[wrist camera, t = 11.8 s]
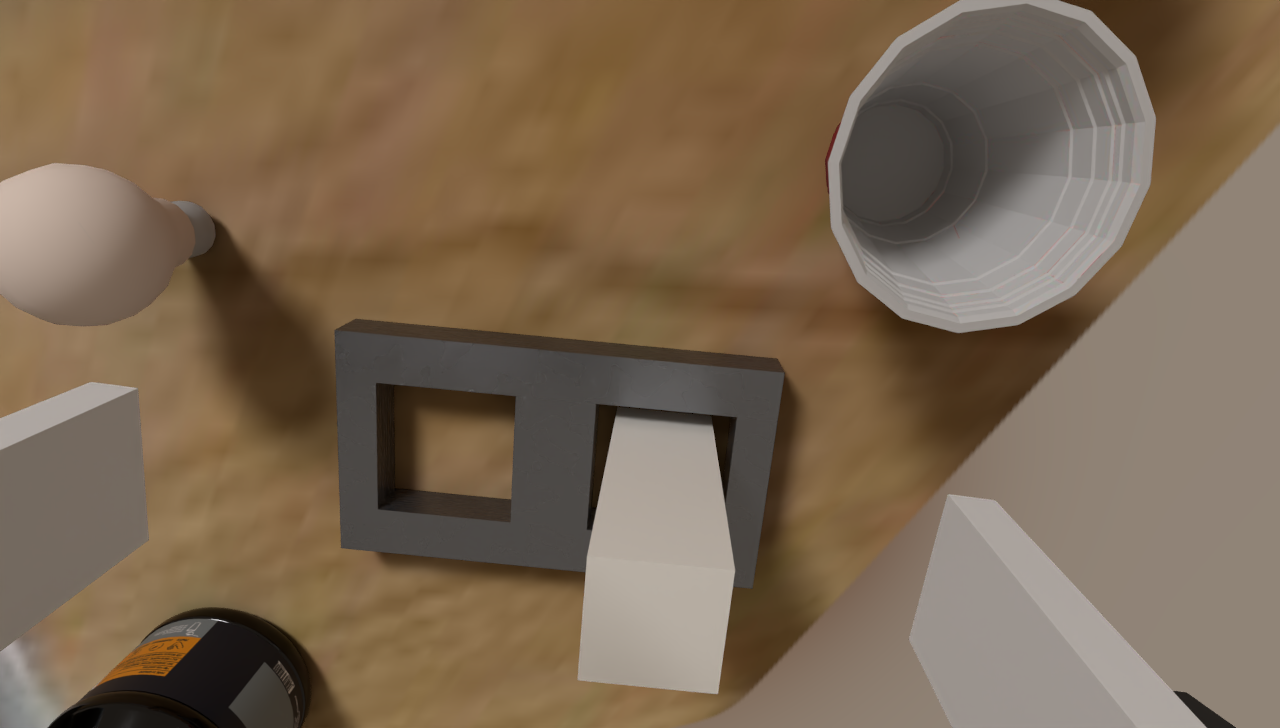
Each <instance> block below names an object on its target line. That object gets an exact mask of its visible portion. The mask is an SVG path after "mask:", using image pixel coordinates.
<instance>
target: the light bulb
mask: <svg viewBox="0 0 1280 728" xmlns="http://www.w3.org/2000/svg"><path fill="white" fill-rule="evenodd" d="M215 236H216V235H215V225H214V223H213V221H212V219H211V217H210V215H209V214H208V213H207V212H206V211H205V210H204V209H203V208H202V207H201V206H199V205H196V204H194V203H192V202H188V201H174V202H169V201H167V200H165V199H159V198H152V197H151V196H149V195H148V194H147V193H146V192H145V191H143V190H142V189H141V188H140V187H139V186H137V185H136V184H135V183H133V182H131V181H129V180H127V179H125V178H123V177H120V176H118V175H116V174H114V173H112V172H110V171H108V170H105V169H100V168H95V167H90V166H86V165H73V164H60V163H53V164H49V165H46V166H42V167H39V168H36V169H32V170H29V171H27V172H24V173H22V174H19V175H17V176H14V177H11V178H9V179H6V180H4V181H2V182H1V183H0V294H1V295H2V296H3V297H5V298H6V299H7V300H8V301H9V302H10V303H11V304H13V305H14V306H15V307H16V308H18V309H21V310H23V311H25V312H27V313H29V314H31V315H33V316H35V317H37V318H40V319H42V320H45V321H48V322H51V323H54V324H59V325H72V326H98V325H108V324H111V323H114V322H117V321H120V320H123V319H126V318H128V317H131V316H134V315H136V314H137V313H138V312H140V311H141V310H143V309H144V308H146V307H147V306H149V305H150V304H151V303H152V302H153V301H154V300H155V299H156V298H157V297H158V296H159V295H160V294H161V293H162V292H163V291H164V290H165V288H166V287H167V286H168V284H169V281H170V278H171V276H172V273H173V270H174V269H175V267H177V266H179V265H181V264H183V263H184V262H185V261H186V260H187V259H188V258H191V257H195V256H198V255H201V254H204V253H206V252H207V251H208V250H209V249H210V248H211V247H212V246H213V242H214V239H215Z"/></svg>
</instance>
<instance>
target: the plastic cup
mask: <svg viewBox="0 0 1280 728" xmlns="http://www.w3.org/2000/svg"><path fill="white" fill-rule="evenodd" d="M1155 124H1156V116H1155V113H1154V110H1153V107H1152V104H1151V101H1150V98H1149V95H1148V92H1147V89H1146V86H1145V83H1144V80H1143V77H1142V73H1141V70H1140V67H1139V64H1138V61H1137V58H1136V56H1135V55H1134V54H1133V53H1132V52H1131V51H1130V50H1129V49H1128V48H1127V47H1126V46H1125V45H1124V44H1123V43H1122V42H1121V41H1120V40H1119V39H1118V38H1117V37H1116V36H1115V35H1114V34H1113V32H1112V31H1111V30H1110V29H1109V28H1108V27H1107V26H1106V25H1105V24H1104V23H1103V22H1102V21H1101V20H1100V19H1099V18H1098V17H1097V16H1096V15H1095V14H1094V13H1093V12H1092V11H1090V10H1087V9H1084V8H1081V7H1078V6H1075V5H1071V4H1068V3H1065V2H1062V1H1059V0H960V1H958V2H956V3H955V4H953V5H951V6H950V7H948V8H946V9H945V10H943V11H941V12H940V13H938V14H936V15H934V16H933V17H931V18H929V19H928V20H926V21H924V22H923V23H921V24H919V25H918V26H916V27H914V28H913V29H911V30H909V31H908V32H906V33H904V34H902V35H901V36H899V37H897V38H896V39H895V41H894V42H893V43H892V44H891V46H890V47H889V48H888V49H887V51H886V52H885V53H884V54H883V56H882V57H881V58H880V59H879V61H878V62H877V63H876V64H875V66H874V67H873V68H872V69H871V71H870V72H869V73H868V74H867V76H866V77H865V78H864V79H863V81H862V82H861V83H860V84H859V86H858V87H857V88H856V89H855V91H854V92H853V93H852V94H851V96H850V97H849V100H848V103H847V106H846V109H845V112H844V115H843V118H842V121H841V123H840V124H839V125H838V126H837V128H836V131H835V133H834V134H833V137H832V141H831V144H830V147H829V150H828V153H827V156H826V159H825V165H826V182H827V187H828V193H829V197H830V217H831V229H832V231H833V233H834V235H835V237H836V239H837V241H838V243H839V245H840V247H841V249H842V251H843V253H844V255H845V257H846V259H847V262H848V264H849V266H850V268H851V270H852V272H853V274H854V276H855V278H856V280H857V282H858V283H859V284H860V285H862V286H863V287H864V288H865V289H867V290H868V291H869V292H870V293H871V294H873V295H874V296H875V297H876V298H878V299H879V300H880V301H881V302H883V303H884V304H885V305H886V306H887V307H889V308H890V309H891V310H892V311H894V312H895V313H896V314H897V315H899V316H900V317H901V318H902V319H906V320H910V321H914V322H918V323H921V324H925V325H929V326H933V327H937V328H940V329H944V330H948V331H952V332H956V333H963V332H970V331H977V330H985V329H992V328H1000V327H1007V326H1014V325H1019V324H1021V323H1023V322H1025V321H1027V320H1029V319H1031V318H1032V317H1034V316H1036V315H1038V314H1040V313H1042V312H1044V311H1046V310H1048V309H1050V308H1051V307H1053V306H1055V305H1057V304H1059V303H1061V302H1063V301H1065V300H1067V299H1069V298H1070V297H1072V296H1074V295H1076V294H1077V293H1078V292H1079V291H1080V289H1081V288H1082V287H1083V286H1084V285H1085V284H1086V283H1087V282H1088V281H1089V280H1090V279H1091V278H1092V277H1093V276H1094V275H1095V274H1096V273H1097V272H1098V271H1099V270H1100V268H1101V267H1102V266H1103V265H1104V264H1105V263H1106V262H1107V261H1108V260H1109V259H1110V258H1111V257H1112V256H1113V255H1114V254H1115V253H1116V252H1117V251H1118V250H1119V248H1120V247H1121V246H1122V244H1123V242H1124V240H1125V238H1126V236H1127V234H1128V231H1129V229H1130V227H1131V225H1132V223H1133V221H1134V219H1135V216H1136V214H1137V212H1138V210H1139V208H1140V206H1141V204H1142V201H1143V199H1144V197H1145V195H1146V193H1147V191H1148V189H1149V186H1150V183H1151V171H1152V159H1153V148H1154V136H1155Z"/></svg>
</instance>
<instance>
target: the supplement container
mask: <svg viewBox="0 0 1280 728" xmlns="http://www.w3.org/2000/svg"><path fill="white" fill-rule="evenodd" d="M310 703H311V682H310V677H309V673H308V670H307V667H306V665H305V662H304V660H303V658H302V656H301V655H300V653H299V652H298V650H297V649H296V647H295V646H294V645H293V644H292V642H291V641H290V640H289V639H288V638H287V637H286V636H285V635H284V634H282V633H281V632H280V631H279V630H278V629H276V628H275V627H274V626H272V625H271V624H269V623H267V622H266V621H264V620H262V619H260V618H258V617H256V616H253V615H251V614H248V613H245V612H242V611H239V610H234V609H228V608H216V607H209V608H199V609H193V610H190V611H186V612H183V613H180V614H178V615H175V616H173V617H171V618H169V619H168V620H166V621H164V622H163V623H161V624H160V625H158V626H157V627H156V628H155V629H154V630H153V631H151V632H150V633H149V634H148V635H147V636H146V637H145V638H144V640H143V641H142V642H141V643H140V645H139V646H137V647H136V648H135V649H134V650H133V651H132V652H131V653H130V654H129V655H128V656H127V657H126V658H125V659H123V660H122V661H121V662H120V663H119V664H118V665H117V666H116V667H115V668H114V669H113V670H112V671H111V672H110V673H108V674H107V675H106V676H105V677H104V678H103V679H102V680H101V681H100V682H99V683H98V684H97V685H96V686H95V687H93V688H92V689H91V690H90V691H89V692H88V693H87V694H86V695H85V696H84V697H83V698H82V699H81V700H80V701H78V702H77V703H76V704H74V705H72V706H71V707H69V708H68V709H67V710H65V711H64V712H63V713H62V714H61V715H59V716H58V717H57V718H56V719H55V720H54V721H53V722H52V723H51V724H50V725H49V727H48V728H302V726H303V724H304V722H305V720H306V717H307V715H308V712H309V708H310Z"/></svg>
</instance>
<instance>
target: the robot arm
mask: <svg viewBox="0 0 1280 728" xmlns="http://www.w3.org/2000/svg"><path fill="white" fill-rule="evenodd" d="M148 540H149V535H148V521H147V507H146V493H145V479H144V465H143V451H142V437H141V423H140V409H139V395H138V388H133V387H125V386H117V385H110V384H102V383H94V382H90V383H87V384H85V385H82V386H80V387H77V388H75V389H72V390H70V391H67V392H65V393H62V394H60V395H57V396H55V397H52V398H50V399H47V400H45V401H42V402H40V403H37V404H35V405H32V406H30V407H27V408H25V409H22V410H20V411H18V412H15V413H13V414H10V415H8V416H5V417H3V418H0V651H1V650H3V649H4V648H5V647H7V646H8V645H9V644H11V643H12V642H13V641H15V640H16V639H17V638H19V637H20V636H21V635H23V634H24V633H25V632H27V631H28V630H29V629H31V628H32V627H33V626H35V625H36V624H37V623H39V622H40V621H41V620H43V619H44V618H45V617H47V616H48V615H49V614H51V613H52V612H53V611H55V610H56V609H57V608H59V607H60V606H61V605H63V604H64V603H65V602H67V601H68V600H69V599H71V598H72V597H73V596H75V595H76V594H77V593H79V592H80V591H81V590H83V589H84V588H85V587H87V586H88V585H89V584H91V583H92V582H93V581H95V580H96V579H97V578H99V577H100V576H101V575H103V574H104V573H105V572H107V571H108V570H109V569H111V568H112V567H113V566H115V565H116V564H117V563H119V562H120V561H121V560H123V559H124V558H125V557H127V556H128V555H129V554H131V553H132V552H133V551H135V550H136V549H137V548H139V547H140V546H141V545H143V544H144V543H145V542H147V541H148ZM909 641H910V642H911V644H912V646H913V649H914V650H915V653H916V655H917V657H918V659H919V661H920V663H921V665H922V667H923V669H924V671H925V673H926V675H927V677H928V679H929V681H930V683H931V685H932V687H933V690H934V692H935V694H936V696H937V698H938V700H939V702H940V704H941V706H942V708H943V710H944V712H945V714H946V716H947V718H948V720H949V722H950V724H951V726H952V728H1236V727H1234V726H1233V725H1232V724H1230V723H1229V722H1227V721H1226V720H1224V719H1223V718H1221V717H1220V716H1219V715H1217V714H1216V713H1215V712H1213V711H1212V710H1210V709H1209V708H1208V707H1206V706H1205V705H1203V704H1202V703H1200V702H1199V701H1198V700H1196V699H1195V698H1193V697H1192V696H1191V695H1189V694H1188V693H1185V692H1178V691H1172V690H1171V689H1170V688H1169V687H1168V686H1167V685H1166V684H1165V682H1164V681H1163V680H1162V679H1161V678H1160V677H1159V676H1158V675H1157V674H1156V673H1155V672H1154V671H1153V669H1152V668H1151V667H1150V666H1149V665H1148V664H1147V663H1146V662H1145V661H1144V660H1143V659H1142V658H1141V656H1140V655H1138V653H1137V652H1136V651H1135V650H1134V649H1133V648H1132V647H1131V646H1130V645H1129V644H1128V643H1127V642H1126V640H1125V639H1124V638H1123V637H1122V636H1121V635H1120V634H1119V633H1118V632H1117V631H1116V630H1115V629H1114V627H1113V626H1112V625H1111V624H1110V623H1109V622H1108V621H1107V620H1106V619H1105V618H1104V617H1103V616H1102V615H1101V614H1100V612H1098V610H1097V609H1096V608H1095V607H1094V606H1093V605H1092V604H1091V603H1090V602H1089V601H1088V600H1087V598H1086V597H1085V596H1084V595H1083V594H1082V593H1081V592H1080V591H1079V590H1078V589H1077V588H1076V587H1075V586H1074V584H1073V583H1072V582H1071V581H1070V580H1069V579H1068V578H1067V577H1066V576H1065V575H1064V574H1063V573H1062V572H1061V571H1060V569H1058V567H1057V566H1056V565H1055V564H1054V563H1053V562H1052V561H1051V560H1050V559H1049V558H1048V557H1047V556H1046V554H1044V552H1043V551H1042V550H1041V549H1040V548H1039V547H1038V546H1037V545H1036V544H1035V543H1034V542H1033V540H1031V538H1030V537H1029V536H1028V535H1027V534H1026V533H1025V532H1024V531H1023V530H1022V529H1021V528H1020V526H1019V525H1017V523H1016V522H1015V521H1014V520H1013V519H1012V518H1011V517H1010V516H1009V515H1008V514H1007V513H1006V511H1005V510H1004V509H1003V508H1002V507H1001V506H1000V505H999V504H998V503H997V502H996V501H995V500H990V499H982V498H974V497H966V496H959V495H951V494H948V496H947V499H946V503H945V506H944V510H943V514H942V517H941V521H940V525H939V529H938V532H937V536H936V540H935V544H934V547H933V551H932V555H931V559H930V563H929V566H928V570H927V574H926V577H925V581H924V585H923V589H922V592H921V596H920V600H919V604H918V608H917V611H916V615H915V619H914V623H913V626H912V630H911V634H910V637H909Z"/></svg>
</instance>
